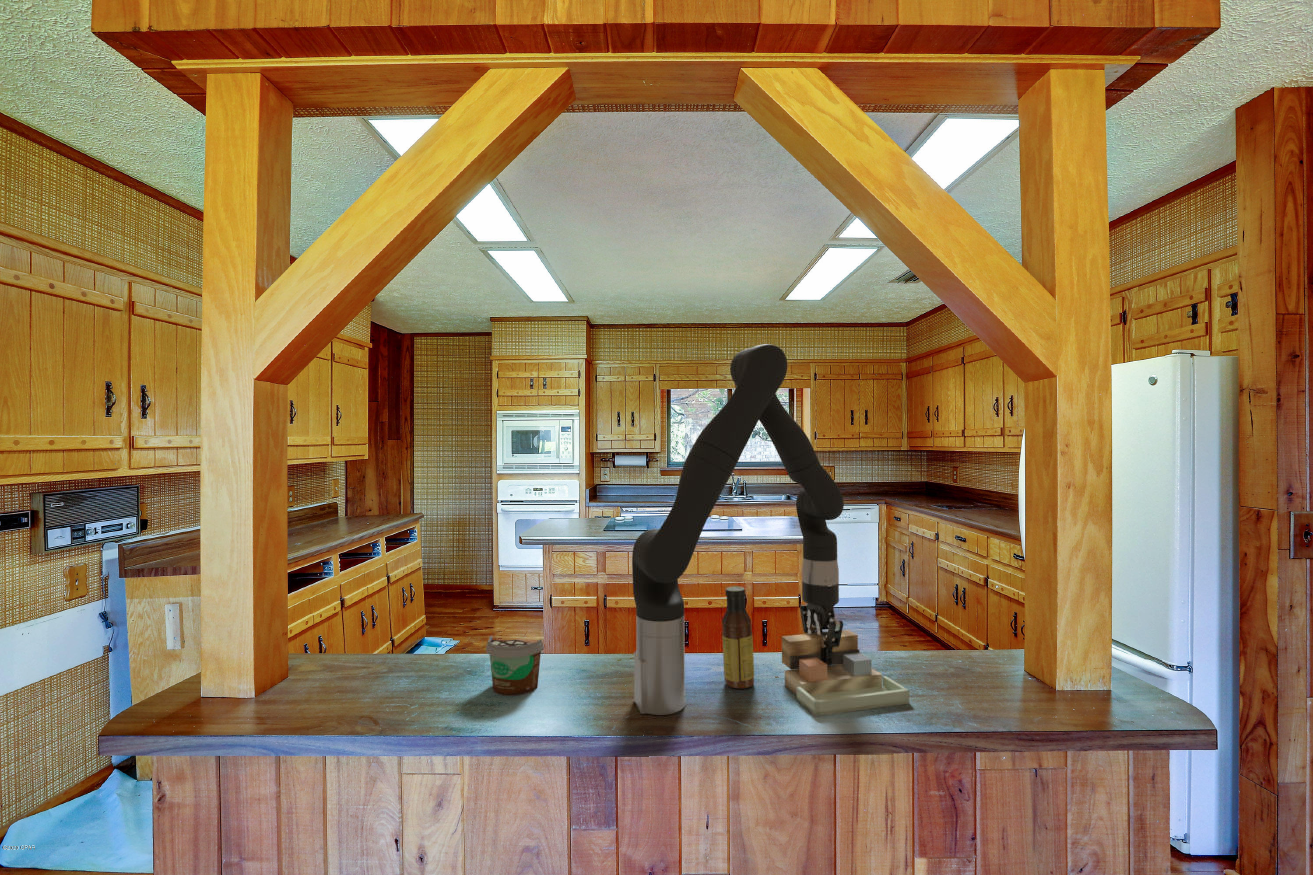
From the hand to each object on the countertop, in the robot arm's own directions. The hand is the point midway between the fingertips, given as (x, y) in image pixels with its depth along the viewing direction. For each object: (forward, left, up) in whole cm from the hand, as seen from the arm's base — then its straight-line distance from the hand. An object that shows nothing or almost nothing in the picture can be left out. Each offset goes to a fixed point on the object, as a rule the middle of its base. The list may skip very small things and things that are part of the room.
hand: (820, 660), depth 123 cm
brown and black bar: (0, 0, 0) cm, 1 cm away
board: (0, -4, -4) cm, 6 cm away
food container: (-64, +11, -4) cm, 65 cm away
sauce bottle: (-18, +2, -4) cm, 19 cm away
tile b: (+5, -5, -1) cm, 8 cm away
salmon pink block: (-5, -5, -1) cm, 7 cm away
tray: (0, -11, -4) cm, 12 cm away
